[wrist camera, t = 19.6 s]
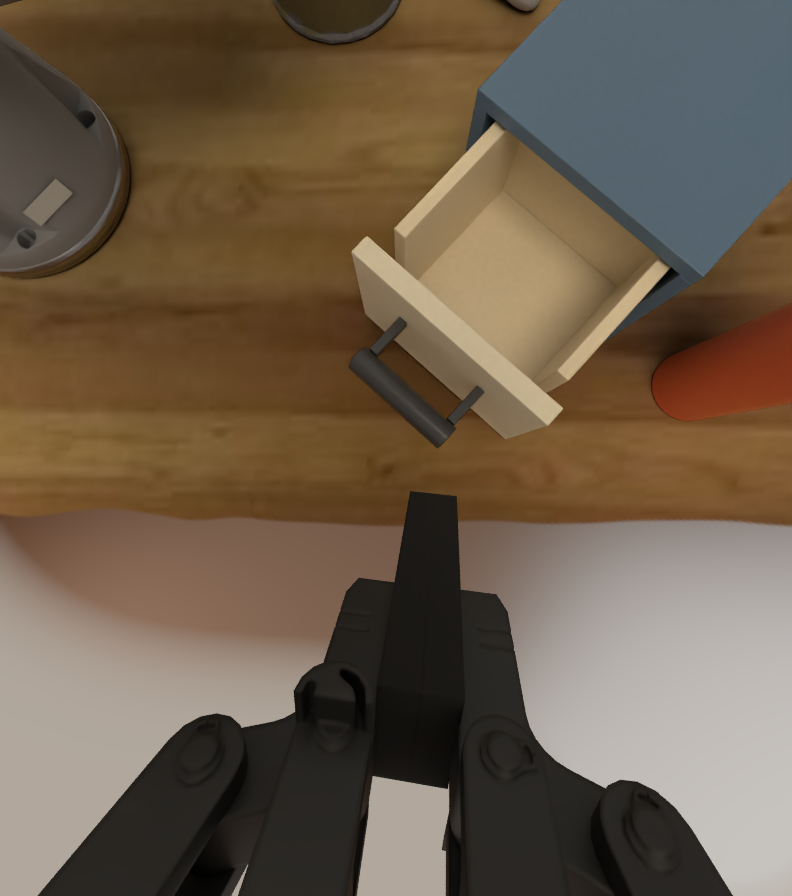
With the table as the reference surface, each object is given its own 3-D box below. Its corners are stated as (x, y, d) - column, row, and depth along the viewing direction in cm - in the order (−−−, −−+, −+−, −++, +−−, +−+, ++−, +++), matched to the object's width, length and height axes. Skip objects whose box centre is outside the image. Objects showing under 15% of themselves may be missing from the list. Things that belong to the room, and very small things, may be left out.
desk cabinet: (601, 343, 28) (704, 277, 19) (452, 215, 29) (477, 88, 19) (729, 201, 29) (893, 66, 19) (580, 80, 30) (665, -109, 20)
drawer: (465, 484, 27) (491, 488, 19) (324, 356, 28) (294, 310, 20) (631, 300, 28) (722, 231, 20) (490, 180, 28) (524, 68, 20)
